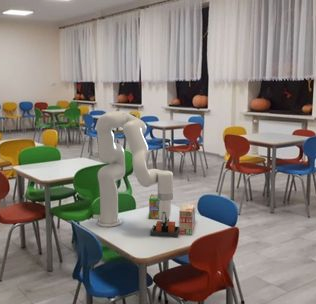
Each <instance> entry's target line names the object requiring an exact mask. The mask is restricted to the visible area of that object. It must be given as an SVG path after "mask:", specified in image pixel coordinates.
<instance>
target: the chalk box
mask: <svg viewBox="0 0 316 304" xmlns="http://www.w3.org/2000/svg"><path fill="white" fill-rule="evenodd" d="M148 201H149V202H148V218H149V219H150V220H152V219H154V220H159V202H160V200H158V194H150V195H149V199H148ZM160 220H162V218H161V219H160Z"/></svg>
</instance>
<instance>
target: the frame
mask: <svg viewBox="0 0 316 304" xmlns="http://www.w3.org/2000/svg"><path fill="white" fill-rule="evenodd" d="M149 233H150V235H149V236H150V237H163V238H164V237H166V238H179V235H180V234H179V226H177V225H175V232H174V233H173V232H156V224H153V225H152V227H151V229H150V232H149Z"/></svg>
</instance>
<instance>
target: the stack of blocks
mask: <svg viewBox="0 0 316 304" xmlns="http://www.w3.org/2000/svg"><path fill="white" fill-rule="evenodd" d="M178 213H179V217H178V218H179V219H178V222H179V223H178V224H179V226H178V227H179V235H183V236H185V235H186V236H192V234H193V232H194V226H195V222H196V204H194V203H181V206H180V209H179V212H178Z"/></svg>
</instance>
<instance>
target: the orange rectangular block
mask: <svg viewBox="0 0 316 304" xmlns="http://www.w3.org/2000/svg"><path fill="white" fill-rule="evenodd" d="M165 222H166V221H165ZM155 225H156V232H162V230H161V225H162V220H157V221H156V223H155ZM167 225H168V232H173V233H174V232H175V226H176V221H170V220H169V221H168V224H167Z"/></svg>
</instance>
